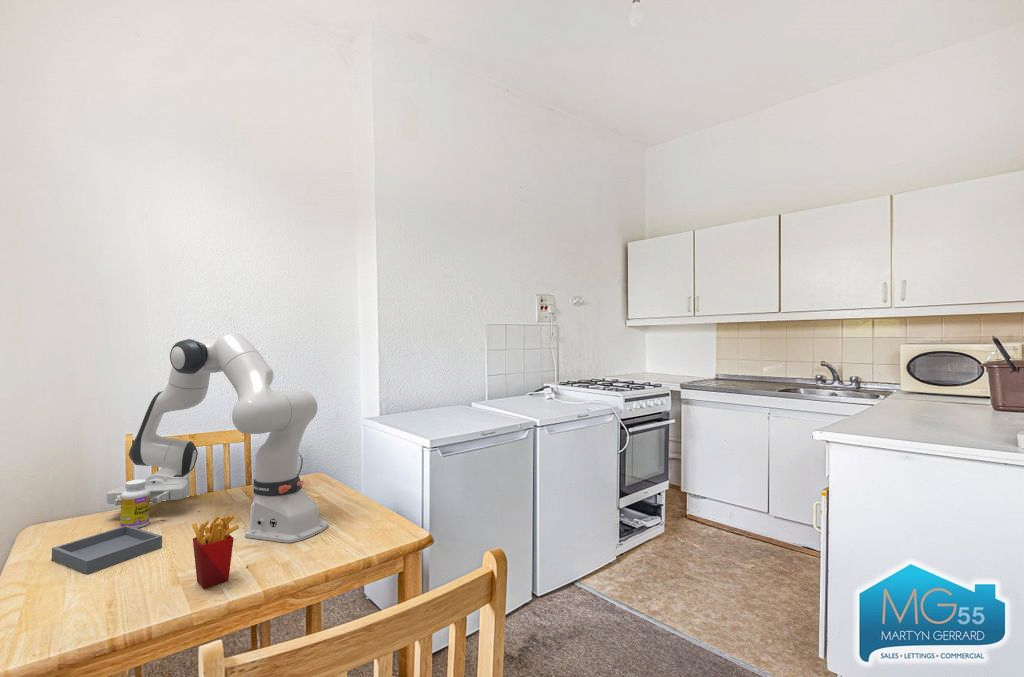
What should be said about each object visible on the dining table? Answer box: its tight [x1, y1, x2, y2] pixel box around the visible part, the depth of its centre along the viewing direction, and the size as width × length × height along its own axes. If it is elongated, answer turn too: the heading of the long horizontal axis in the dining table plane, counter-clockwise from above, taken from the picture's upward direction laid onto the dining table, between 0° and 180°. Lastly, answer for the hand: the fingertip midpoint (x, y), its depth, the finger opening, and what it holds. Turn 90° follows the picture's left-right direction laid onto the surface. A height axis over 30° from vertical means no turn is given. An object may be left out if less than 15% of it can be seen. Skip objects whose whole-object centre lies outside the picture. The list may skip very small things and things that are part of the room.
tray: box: [51, 525, 163, 575], centre depth 121 cm, size 16×16×3 cm
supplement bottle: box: [119, 478, 151, 529], centre depth 138 cm, size 7×7×13 cm
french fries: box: [191, 514, 240, 590], centre depth 107 cm, size 9×8×15 cm
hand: (136, 501), depth 139 cm, fingers open, 8 cm apart
